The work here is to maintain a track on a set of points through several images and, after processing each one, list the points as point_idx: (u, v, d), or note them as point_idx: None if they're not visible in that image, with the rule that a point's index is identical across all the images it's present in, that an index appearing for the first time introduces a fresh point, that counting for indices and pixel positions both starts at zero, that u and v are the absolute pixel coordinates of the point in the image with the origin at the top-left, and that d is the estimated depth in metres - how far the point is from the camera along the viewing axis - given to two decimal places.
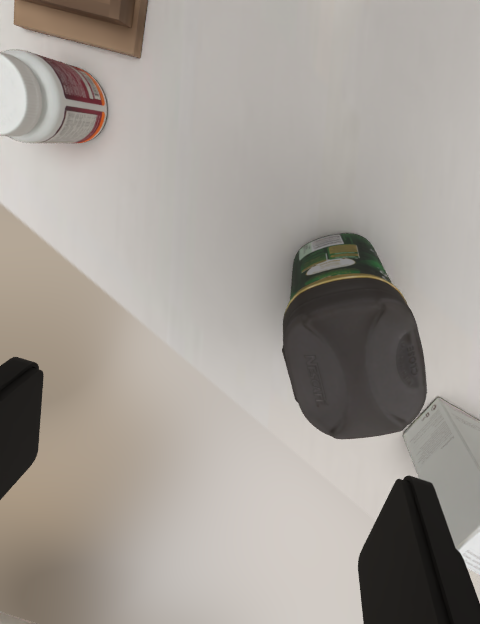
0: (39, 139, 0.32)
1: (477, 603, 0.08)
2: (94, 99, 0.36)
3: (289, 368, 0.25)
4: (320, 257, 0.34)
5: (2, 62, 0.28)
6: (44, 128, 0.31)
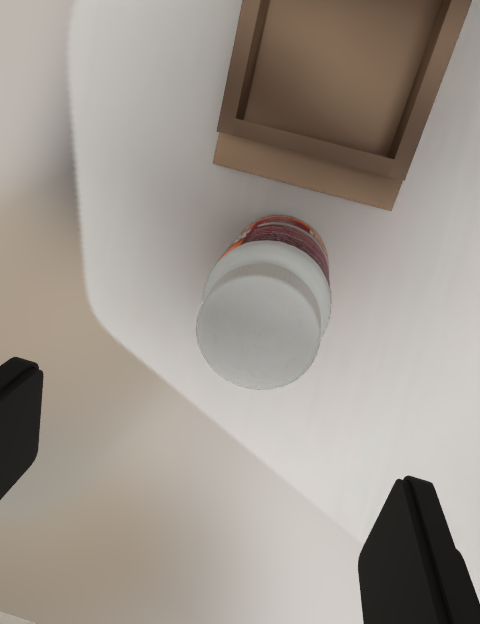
0: None
1: (477, 603, 0.08)
2: None
3: None
4: None
5: (289, 297, 0.17)
6: None
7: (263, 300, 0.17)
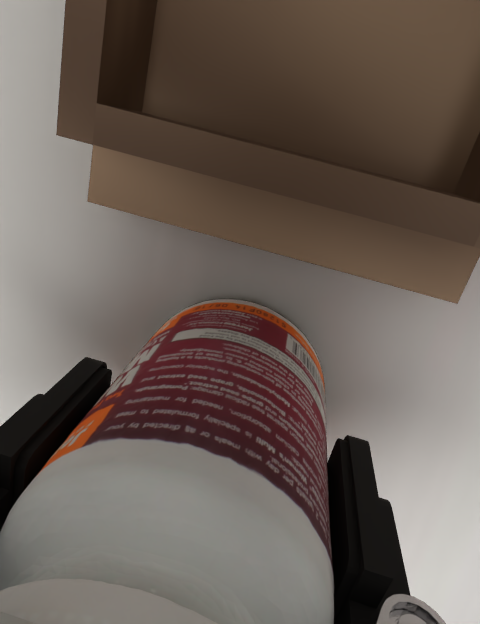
0: None
1: (397, 542, 0.09)
2: None
3: None
4: None
5: None
6: None
7: None
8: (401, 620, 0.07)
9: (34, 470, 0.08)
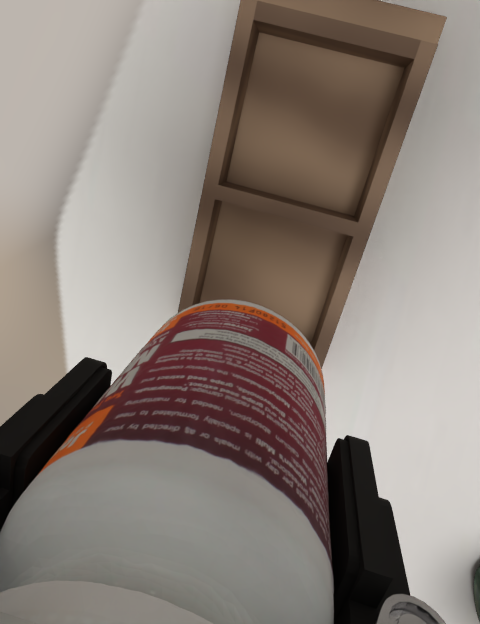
0: None
1: (397, 542, 0.09)
2: None
3: None
4: None
5: None
6: None
7: None
8: (401, 620, 0.07)
9: (34, 470, 0.08)
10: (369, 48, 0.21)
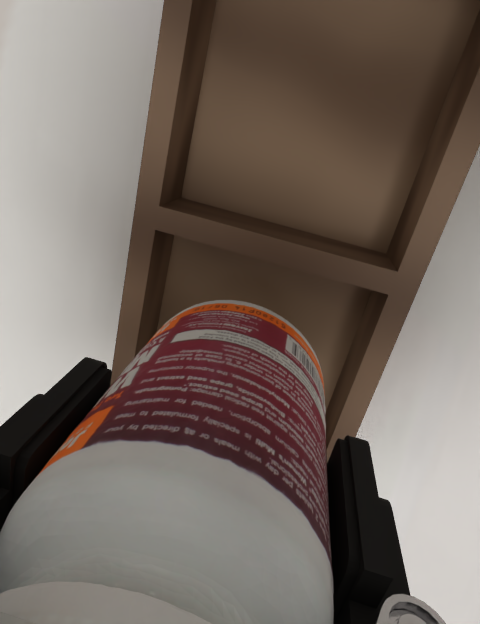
0: None
1: (397, 542, 0.09)
2: (325, 425, 0.12)
3: None
4: None
5: None
6: None
7: None
8: (401, 620, 0.07)
9: (34, 470, 0.08)
10: None
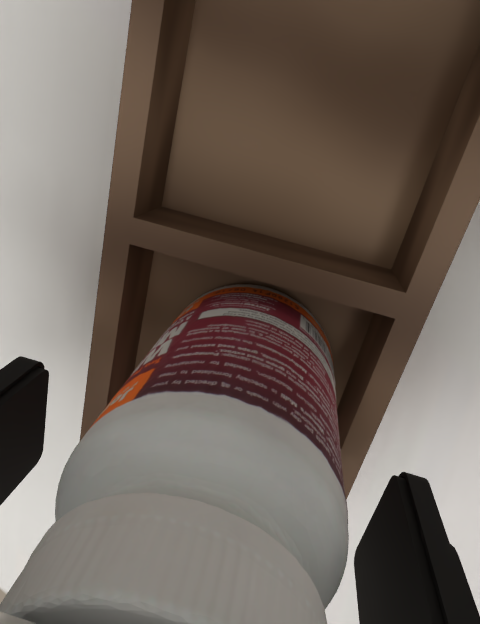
0: None
1: (470, 597, 0.08)
2: None
3: None
4: None
5: None
6: None
7: None
8: None
9: None
10: None
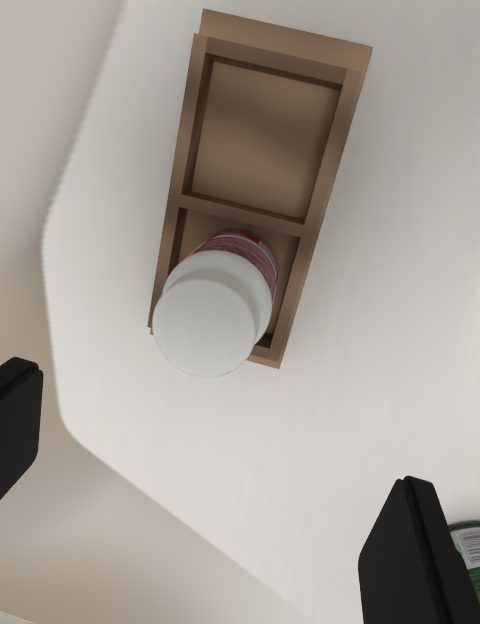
0: None
1: (477, 603, 0.08)
2: (276, 277, 0.28)
3: None
4: None
5: (227, 296, 0.20)
6: None
7: (206, 299, 0.20)
8: None
9: None
10: (305, 75, 0.24)
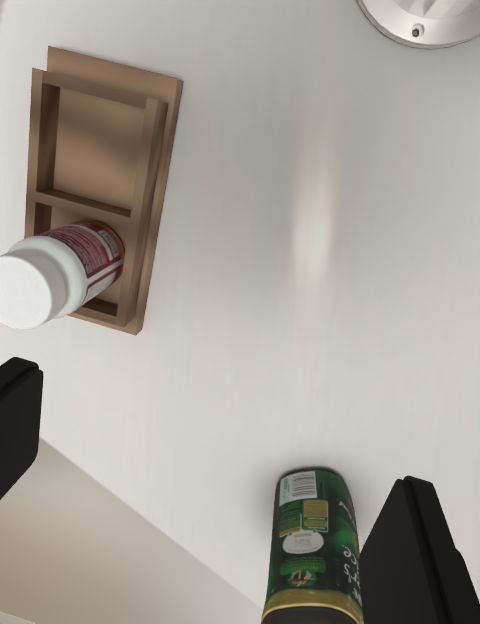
0: None
1: (477, 603, 0.08)
2: (113, 258, 0.36)
3: None
4: (296, 519, 0.39)
5: (27, 269, 0.28)
6: (66, 310, 0.31)
7: (14, 271, 0.28)
8: None
9: None
10: (117, 101, 0.32)
